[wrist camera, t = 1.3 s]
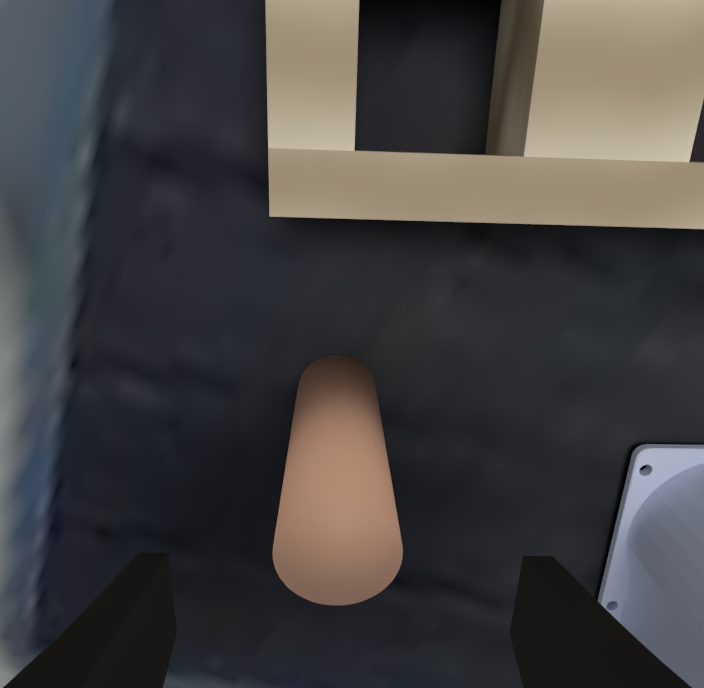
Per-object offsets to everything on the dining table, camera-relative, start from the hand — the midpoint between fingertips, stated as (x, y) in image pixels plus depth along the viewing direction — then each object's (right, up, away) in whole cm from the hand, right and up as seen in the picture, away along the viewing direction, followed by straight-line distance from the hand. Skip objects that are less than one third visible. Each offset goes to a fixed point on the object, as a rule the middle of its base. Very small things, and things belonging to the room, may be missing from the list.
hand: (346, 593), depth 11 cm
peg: (0, +3, +10) cm, 10 cm away
